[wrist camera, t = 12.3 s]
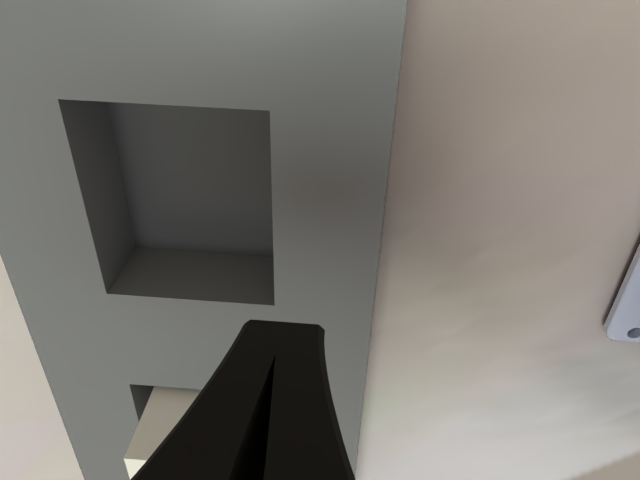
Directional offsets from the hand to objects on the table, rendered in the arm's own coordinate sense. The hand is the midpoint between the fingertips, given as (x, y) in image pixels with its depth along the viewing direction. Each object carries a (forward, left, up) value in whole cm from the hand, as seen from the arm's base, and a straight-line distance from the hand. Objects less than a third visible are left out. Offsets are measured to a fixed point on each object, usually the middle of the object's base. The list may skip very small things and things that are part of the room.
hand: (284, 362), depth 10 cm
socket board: (+4, +7, -9) cm, 12 cm away
